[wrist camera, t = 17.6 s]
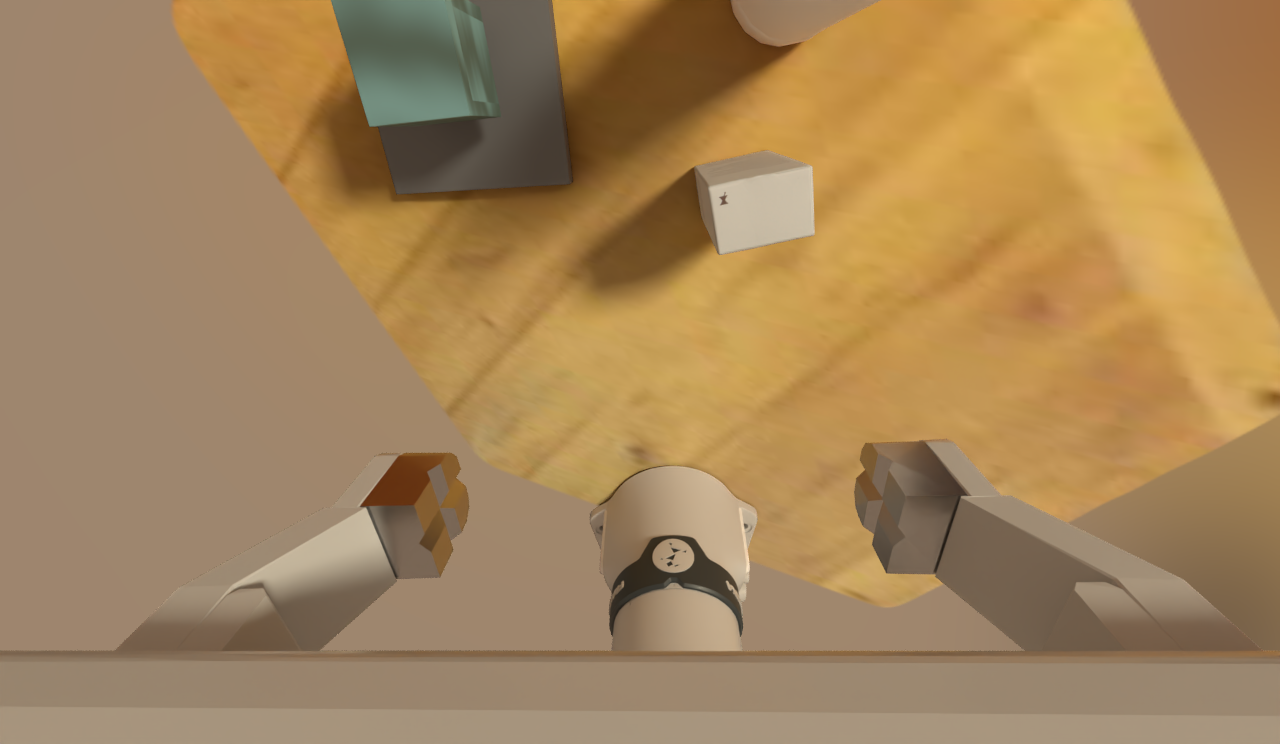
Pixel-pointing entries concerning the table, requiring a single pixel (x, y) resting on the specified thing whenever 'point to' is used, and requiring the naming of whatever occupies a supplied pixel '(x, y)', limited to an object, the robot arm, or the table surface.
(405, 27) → the sage green cube
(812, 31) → the bottle
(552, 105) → the post block
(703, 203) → the skincare box
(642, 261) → the table surface
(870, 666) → the robot arm
